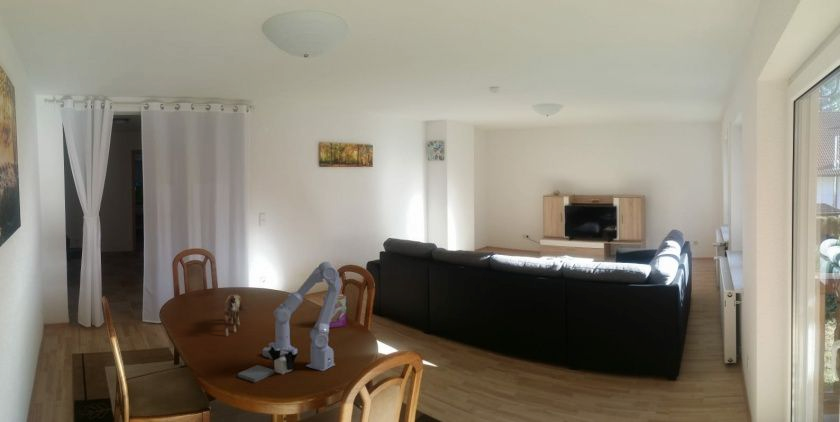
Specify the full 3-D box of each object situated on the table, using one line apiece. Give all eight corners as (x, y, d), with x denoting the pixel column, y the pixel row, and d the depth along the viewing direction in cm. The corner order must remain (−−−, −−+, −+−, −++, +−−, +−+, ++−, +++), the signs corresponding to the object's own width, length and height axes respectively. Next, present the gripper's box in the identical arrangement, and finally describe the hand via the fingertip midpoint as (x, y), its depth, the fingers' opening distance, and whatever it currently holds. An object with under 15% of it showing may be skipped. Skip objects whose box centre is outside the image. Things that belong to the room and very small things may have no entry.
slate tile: (274, 373, 211) (274, 370, 211) (255, 382, 203) (255, 378, 202) (257, 368, 216) (257, 365, 216) (238, 376, 208) (237, 373, 208)
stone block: (296, 356, 234) (282, 347, 240) (296, 347, 233) (283, 338, 239) (274, 365, 225) (260, 356, 231) (274, 356, 224) (261, 346, 230)
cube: (292, 370, 215) (291, 358, 214) (283, 374, 211) (283, 362, 210) (283, 367, 217) (283, 356, 217) (274, 371, 213) (274, 360, 213)
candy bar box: (326, 329, 267) (326, 298, 265) (323, 326, 271) (323, 296, 270) (346, 326, 273) (346, 295, 271) (343, 323, 277) (343, 293, 275)
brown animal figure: (236, 338, 253) (235, 297, 251) (220, 339, 251) (218, 298, 249) (246, 319, 283) (245, 282, 281) (231, 320, 282) (230, 283, 280)
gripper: (262, 335, 213) (263, 367, 214) (288, 341, 205) (288, 374, 207) (275, 330, 219) (276, 361, 220) (300, 336, 211) (301, 368, 213)
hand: (283, 367), depth 214 cm, fingers open, 7 cm apart
